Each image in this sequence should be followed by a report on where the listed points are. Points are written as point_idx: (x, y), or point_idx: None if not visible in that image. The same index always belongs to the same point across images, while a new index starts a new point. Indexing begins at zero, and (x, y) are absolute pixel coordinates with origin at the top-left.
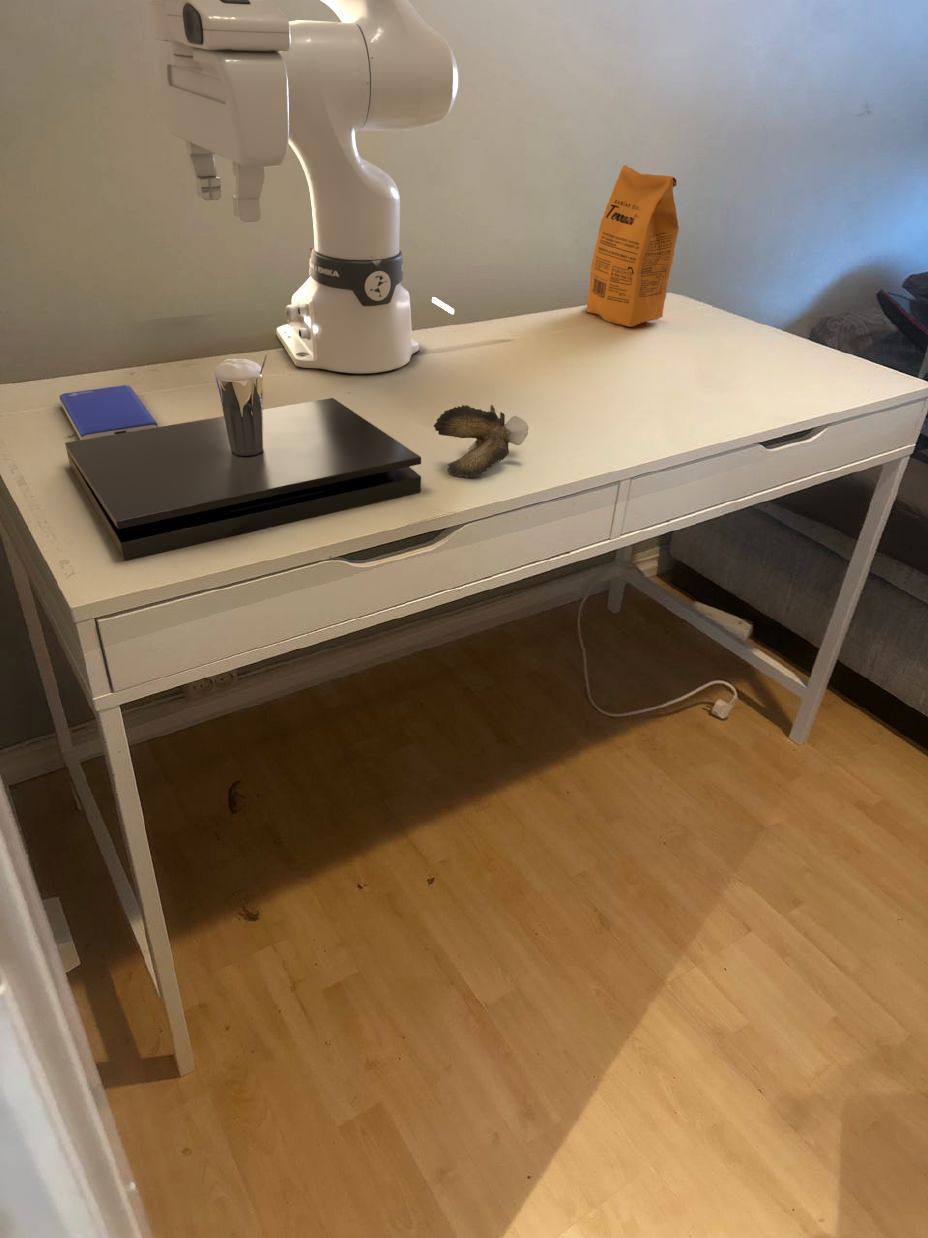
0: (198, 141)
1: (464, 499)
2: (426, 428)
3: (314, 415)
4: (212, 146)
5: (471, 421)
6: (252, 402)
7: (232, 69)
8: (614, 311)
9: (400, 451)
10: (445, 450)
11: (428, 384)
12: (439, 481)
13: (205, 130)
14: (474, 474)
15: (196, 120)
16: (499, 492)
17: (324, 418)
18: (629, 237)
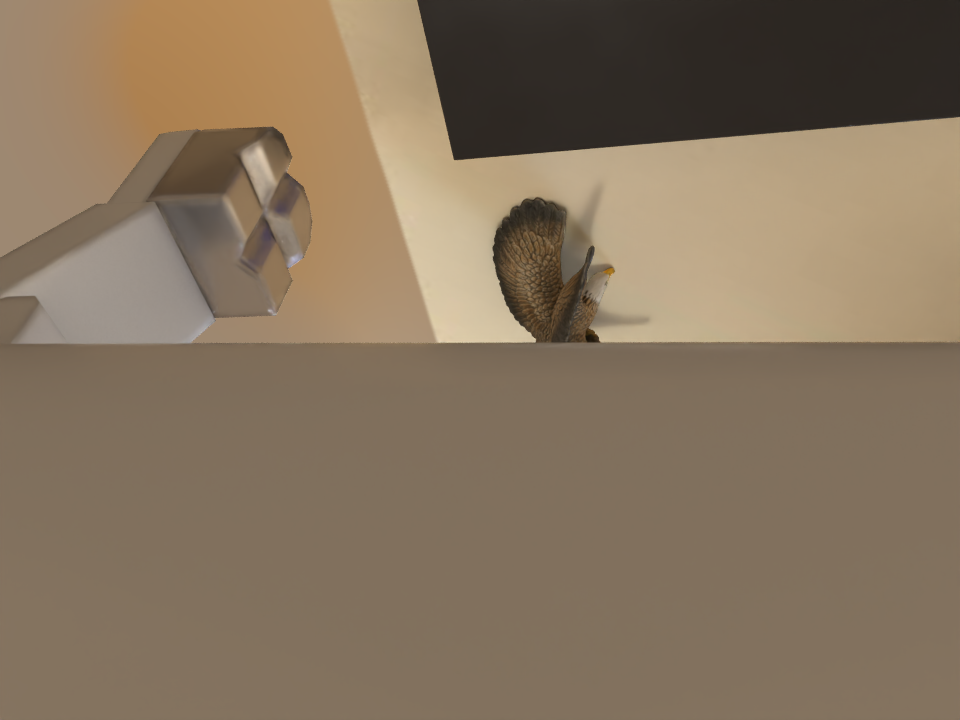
0: (602, 364)
1: (414, 174)
2: (791, 255)
3: (892, 12)
4: (131, 371)
5: (554, 319)
6: None
7: None
8: None
9: (503, 131)
10: (655, 240)
11: None
12: (509, 166)
13: (241, 482)
14: (498, 236)
15: (549, 566)
16: (427, 242)
17: (845, 32)
18: None
